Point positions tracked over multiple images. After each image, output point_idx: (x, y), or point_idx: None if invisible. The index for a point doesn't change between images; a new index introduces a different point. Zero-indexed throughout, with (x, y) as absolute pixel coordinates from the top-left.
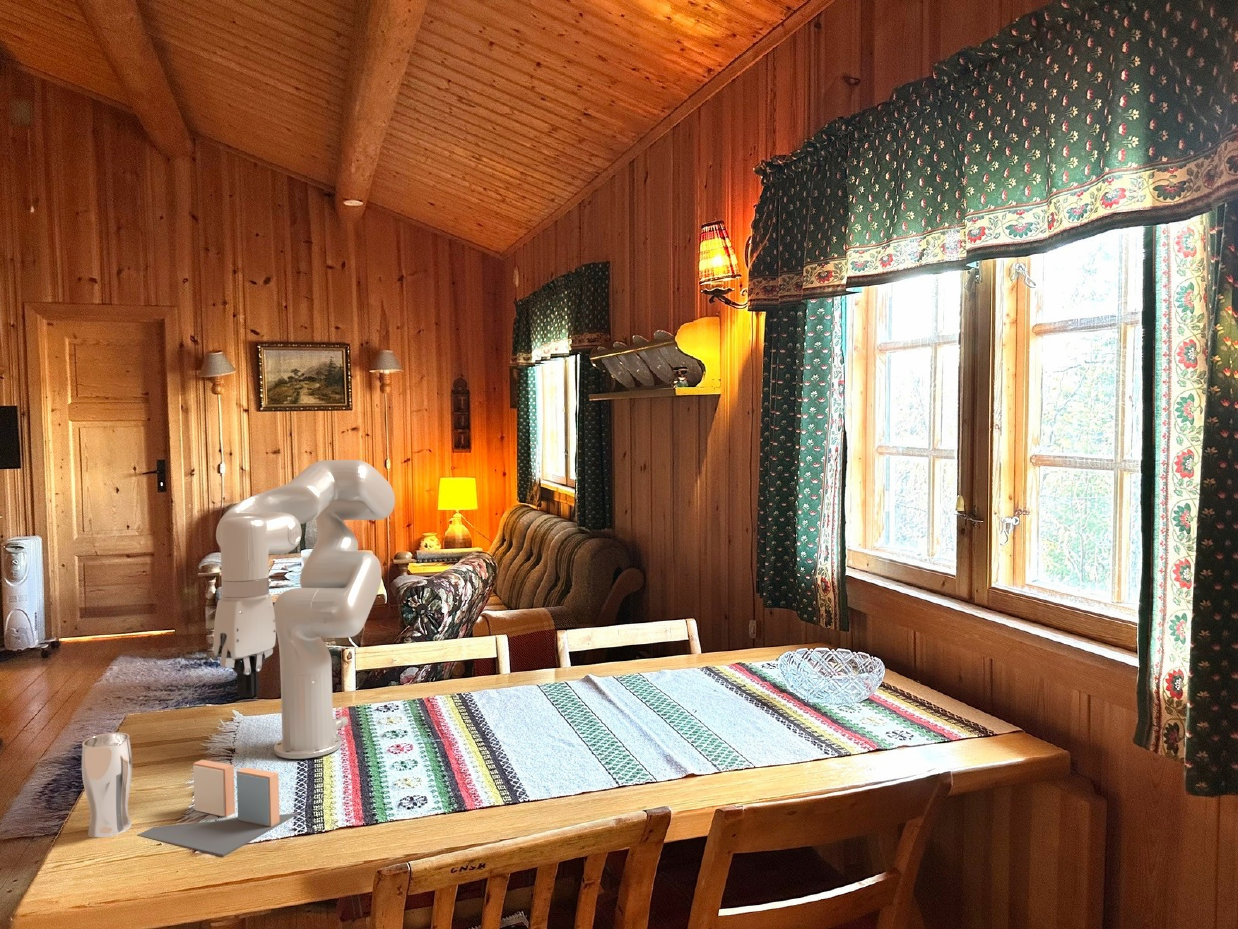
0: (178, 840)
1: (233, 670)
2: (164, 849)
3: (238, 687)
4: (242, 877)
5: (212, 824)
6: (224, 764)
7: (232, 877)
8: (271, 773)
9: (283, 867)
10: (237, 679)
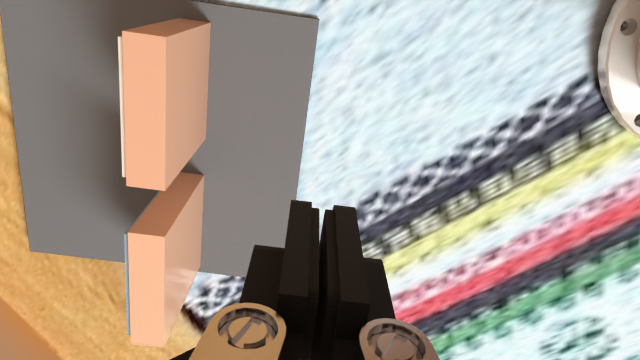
0: (28, 111)
1: (207, 326)
2: (7, 88)
3: (251, 262)
4: (15, 307)
5: None
6: (158, 156)
7: (5, 293)
8: (152, 334)
9: (76, 348)
10: (284, 257)
